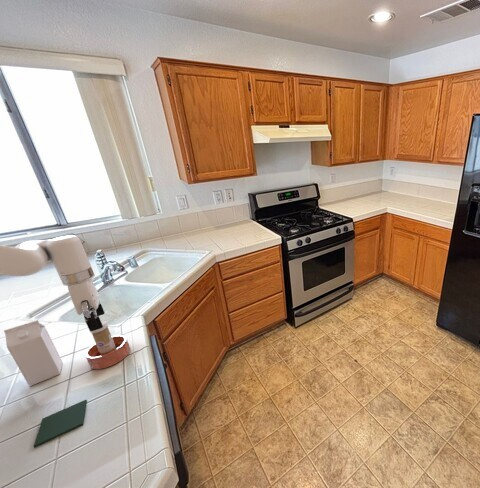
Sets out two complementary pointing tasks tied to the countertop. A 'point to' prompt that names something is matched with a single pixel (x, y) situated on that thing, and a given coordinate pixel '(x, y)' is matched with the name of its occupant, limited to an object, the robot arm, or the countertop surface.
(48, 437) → the mat
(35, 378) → the milk carton
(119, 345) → the bowl
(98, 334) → the sprinkles bottle
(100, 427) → the countertop surface
